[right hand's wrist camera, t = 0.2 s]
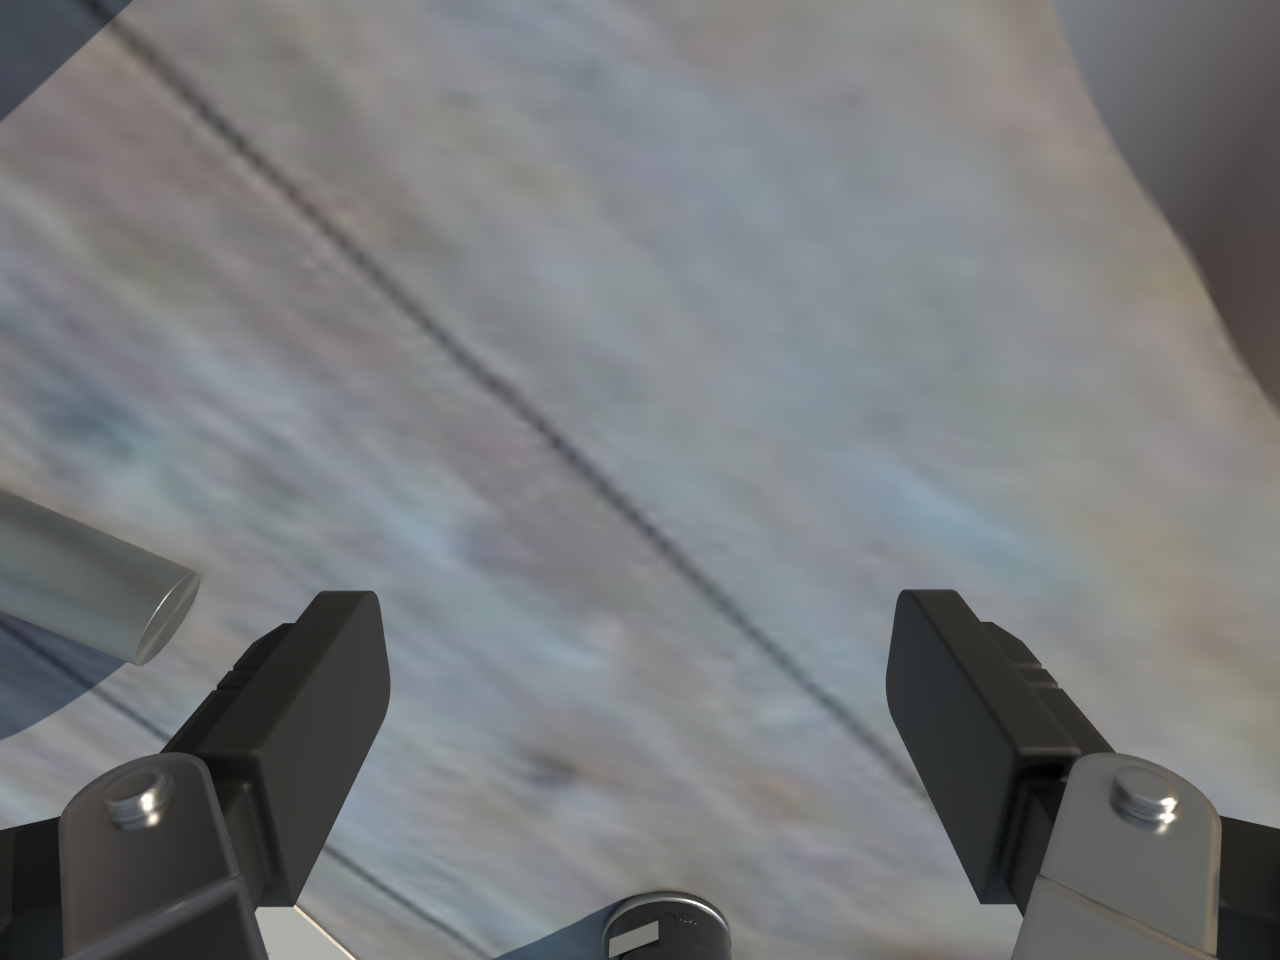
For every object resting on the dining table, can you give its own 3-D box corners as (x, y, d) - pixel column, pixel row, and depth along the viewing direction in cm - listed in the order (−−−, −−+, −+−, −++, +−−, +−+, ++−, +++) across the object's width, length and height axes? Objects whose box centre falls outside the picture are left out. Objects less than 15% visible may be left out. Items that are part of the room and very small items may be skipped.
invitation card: (361, 969, 55) (213, 1040, 58) (363, 966, 56) (215, 1036, 59) (150, 780, 49) (-5, 871, 52) (152, 777, 49) (-2, 867, 52)
